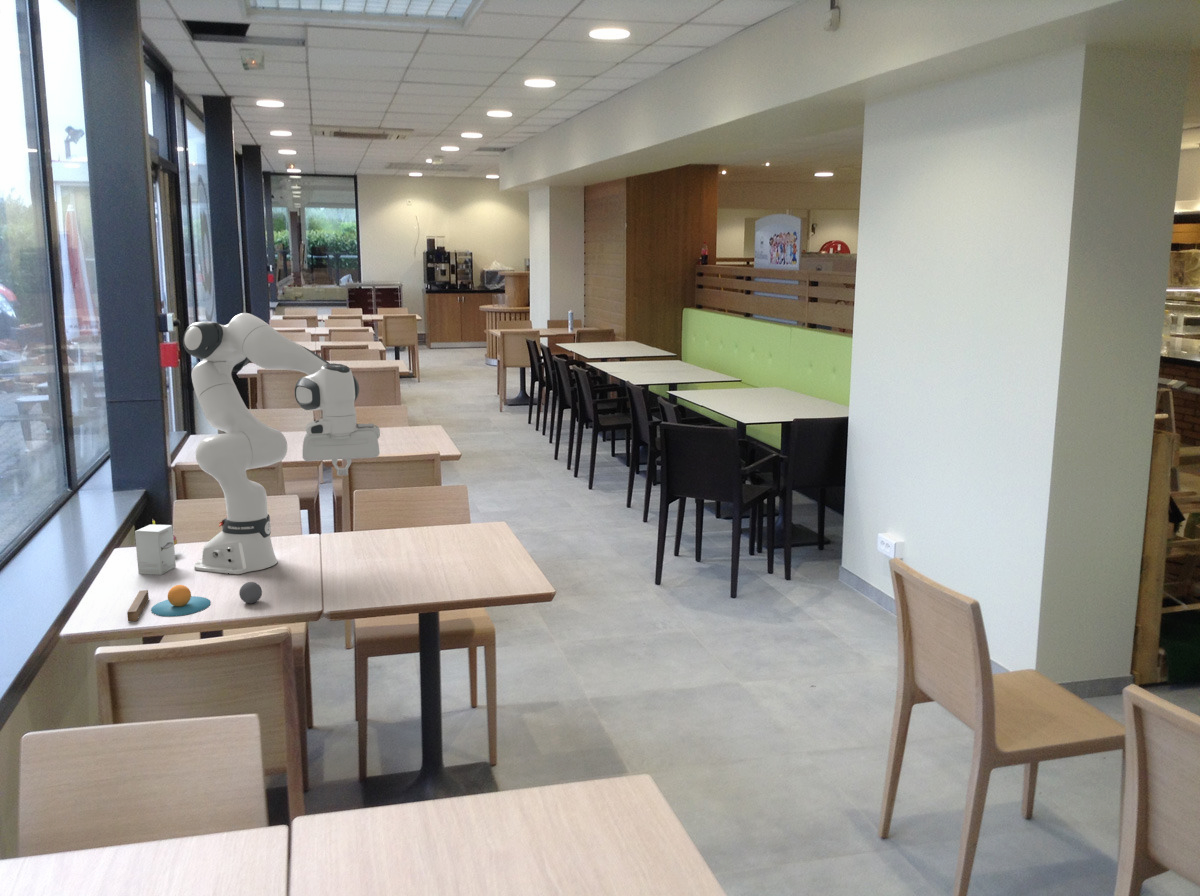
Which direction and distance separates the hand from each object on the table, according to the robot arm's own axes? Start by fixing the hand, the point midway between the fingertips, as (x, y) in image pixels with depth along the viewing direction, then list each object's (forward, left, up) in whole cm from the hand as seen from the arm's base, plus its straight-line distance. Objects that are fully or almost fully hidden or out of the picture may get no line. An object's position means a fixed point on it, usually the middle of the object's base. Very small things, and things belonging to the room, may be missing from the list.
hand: (342, 475), depth 269 cm
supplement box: (-56, 0, -29) cm, 63 cm away
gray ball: (-18, -22, -26) cm, 39 cm away
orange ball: (-35, -26, -26) cm, 51 cm away
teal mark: (-34, -27, -29) cm, 52 cm away
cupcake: (-62, +13, -29) cm, 70 cm away
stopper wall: (-44, -30, -29) cm, 60 cm away
